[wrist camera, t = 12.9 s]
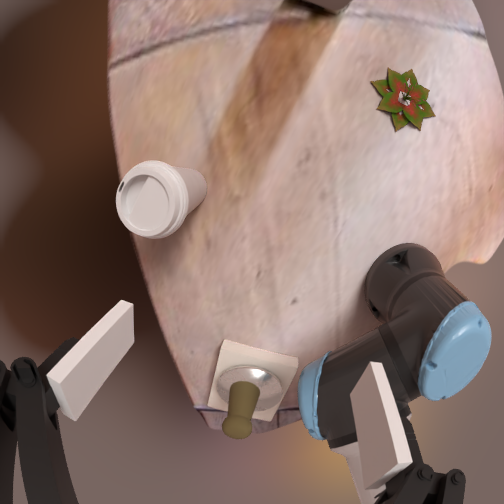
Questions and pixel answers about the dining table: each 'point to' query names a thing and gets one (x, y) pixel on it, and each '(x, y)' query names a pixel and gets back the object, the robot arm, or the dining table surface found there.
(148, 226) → the coffee cup
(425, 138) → the dining table surface
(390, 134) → the dining table surface
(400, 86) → the lily flower
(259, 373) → the pan
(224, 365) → the scale base
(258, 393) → the cork
